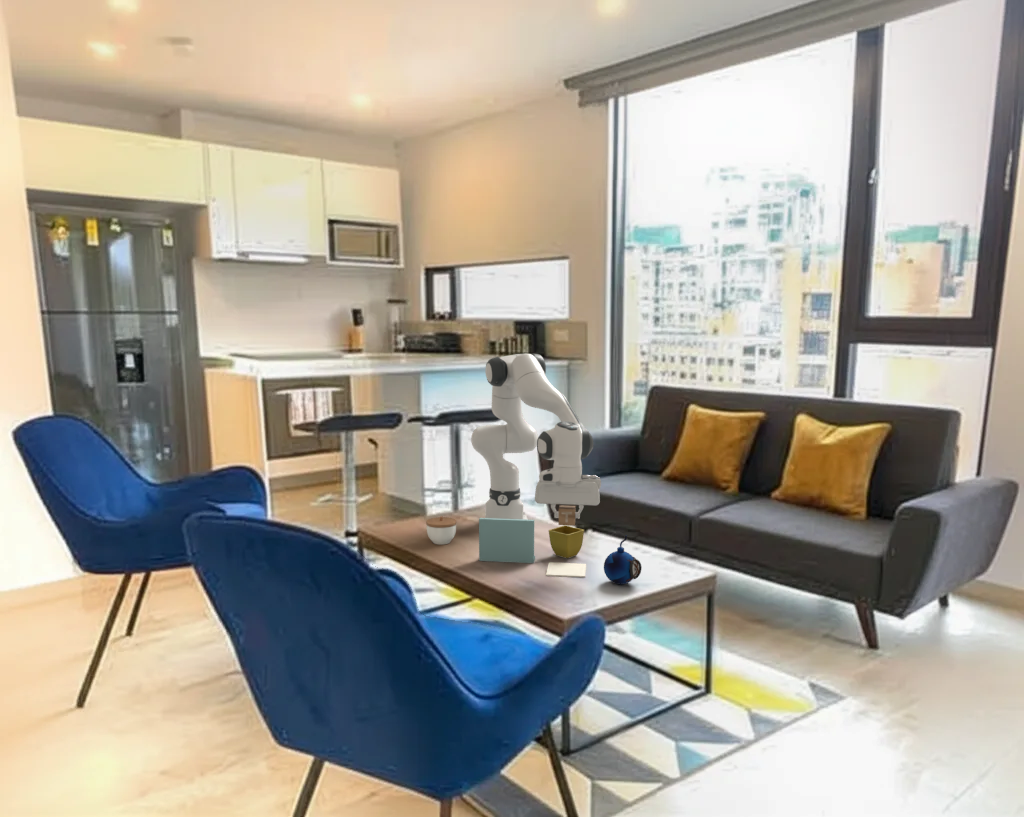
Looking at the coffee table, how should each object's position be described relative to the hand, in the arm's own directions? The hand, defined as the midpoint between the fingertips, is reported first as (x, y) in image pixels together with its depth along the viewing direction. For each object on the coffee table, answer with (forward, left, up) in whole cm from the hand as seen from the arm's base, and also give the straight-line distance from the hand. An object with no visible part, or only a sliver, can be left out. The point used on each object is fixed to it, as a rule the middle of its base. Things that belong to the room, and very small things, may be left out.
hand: (567, 518), depth 230 cm
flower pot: (-15, -1, -17) cm, 23 cm away
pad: (0, 0, -17) cm, 17 cm away
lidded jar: (-25, -46, -17) cm, 55 cm away
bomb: (+10, +17, -17) cm, 26 cm away
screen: (-8, -20, -17) cm, 27 cm away
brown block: (0, 0, -2) cm, 2 cm away
